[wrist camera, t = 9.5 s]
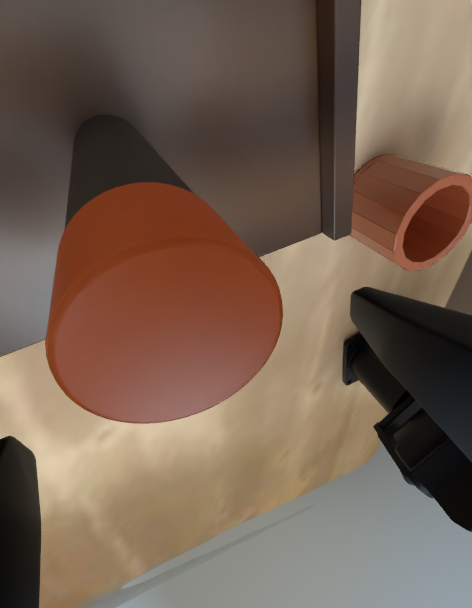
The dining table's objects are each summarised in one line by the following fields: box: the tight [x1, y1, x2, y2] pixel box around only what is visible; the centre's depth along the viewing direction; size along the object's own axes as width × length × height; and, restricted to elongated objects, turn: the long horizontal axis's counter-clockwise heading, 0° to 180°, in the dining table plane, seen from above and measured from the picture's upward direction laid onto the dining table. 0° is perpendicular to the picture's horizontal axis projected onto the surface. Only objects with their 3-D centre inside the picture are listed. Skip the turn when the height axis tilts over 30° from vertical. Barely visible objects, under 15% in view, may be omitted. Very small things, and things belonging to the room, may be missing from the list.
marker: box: [45, 115, 283, 423], centre depth 7 cm, size 2×2×10 cm
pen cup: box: [350, 154, 472, 271], centre depth 20 cm, size 6×6×5 cm
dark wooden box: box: [0, 0, 361, 357], centre depth 12 cm, size 12×18×6 cm, turn 101°
